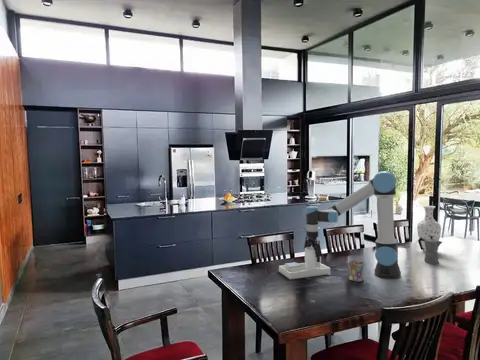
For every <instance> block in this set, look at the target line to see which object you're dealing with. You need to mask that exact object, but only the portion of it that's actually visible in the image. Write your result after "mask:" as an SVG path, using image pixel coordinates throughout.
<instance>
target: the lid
mask: <svg viewBox="0 0 480 360" xmlns="http://www.w3.org/2000/svg"><path fill="white" fill-rule="evenodd" d="M284 265H286V266H288V267H289V268H293V267H301V265H299V264H298V262H295V261H293V262H287V263H284Z"/></svg>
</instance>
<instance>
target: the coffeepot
mask: <svg viewBox="0 0 480 360" xmlns="http://www.w3.org/2000/svg"><path fill="white" fill-rule="evenodd" d="M430 237H431V239H424V238H420V239H419V238H418V239H417V243H418V245H419V249H420V250H421V251H422V250H424V249H423V248H422V245H421V241H425V247H426V252H424V253H425V255H424V258H423V259H424V262H425V263H427V264H439V255H438V249H439V247H440V246H441V244H442V243H443V241H441V240H440V239H439V240H436V239H433V236H430Z"/></svg>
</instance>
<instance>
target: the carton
mask: <svg viewBox="0 0 480 360" xmlns="http://www.w3.org/2000/svg"><path fill="white" fill-rule="evenodd" d="M284 265H285V264H284ZM285 269H286V270H288V271H289V272H298V271H300V267H293V268H289V267H288V266H286V265H285Z"/></svg>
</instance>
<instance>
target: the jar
mask: <svg viewBox="0 0 480 360" xmlns="http://www.w3.org/2000/svg"><path fill="white" fill-rule="evenodd" d="M315 256H316V254H315V250H314V248H313V247H312V246H311V247H305V250H304V263H305V264H306V268H307V270H314V269H319V268H320V267H315ZM321 262H322V256H321V257H320V263H321Z"/></svg>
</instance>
